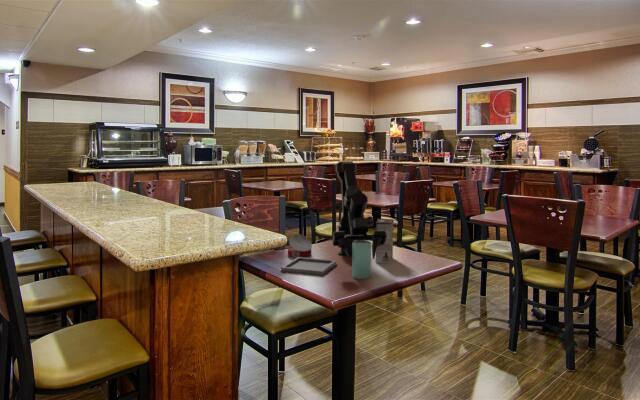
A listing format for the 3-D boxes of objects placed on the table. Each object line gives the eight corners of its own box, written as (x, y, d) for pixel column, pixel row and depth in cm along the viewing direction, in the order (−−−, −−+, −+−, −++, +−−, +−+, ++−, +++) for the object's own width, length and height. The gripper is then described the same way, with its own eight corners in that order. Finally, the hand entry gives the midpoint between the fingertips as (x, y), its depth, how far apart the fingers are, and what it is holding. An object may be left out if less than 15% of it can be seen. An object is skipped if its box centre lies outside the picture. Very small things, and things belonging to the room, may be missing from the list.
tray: (298, 261, 182) (298, 257, 182) (336, 264, 177) (336, 260, 176) (281, 271, 167) (281, 267, 167) (322, 275, 162) (322, 271, 162)
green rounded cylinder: (355, 273, 165) (355, 240, 164) (372, 274, 163) (372, 241, 161) (350, 277, 159) (350, 243, 158) (368, 279, 157) (368, 245, 155)
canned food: (307, 263, 196) (318, 243, 196) (304, 267, 186) (316, 246, 186) (284, 251, 197) (295, 230, 196) (280, 254, 187) (291, 232, 186)
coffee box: (377, 257, 188) (377, 218, 186) (393, 258, 186) (393, 218, 184) (375, 263, 179) (375, 222, 177) (391, 263, 177) (392, 222, 175)
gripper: (333, 208, 161) (337, 246, 152) (385, 208, 163) (393, 245, 153) (331, 227, 170) (334, 263, 160) (380, 226, 172) (387, 262, 162)
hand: (362, 258), depth 159 cm, fingers open, 8 cm apart
